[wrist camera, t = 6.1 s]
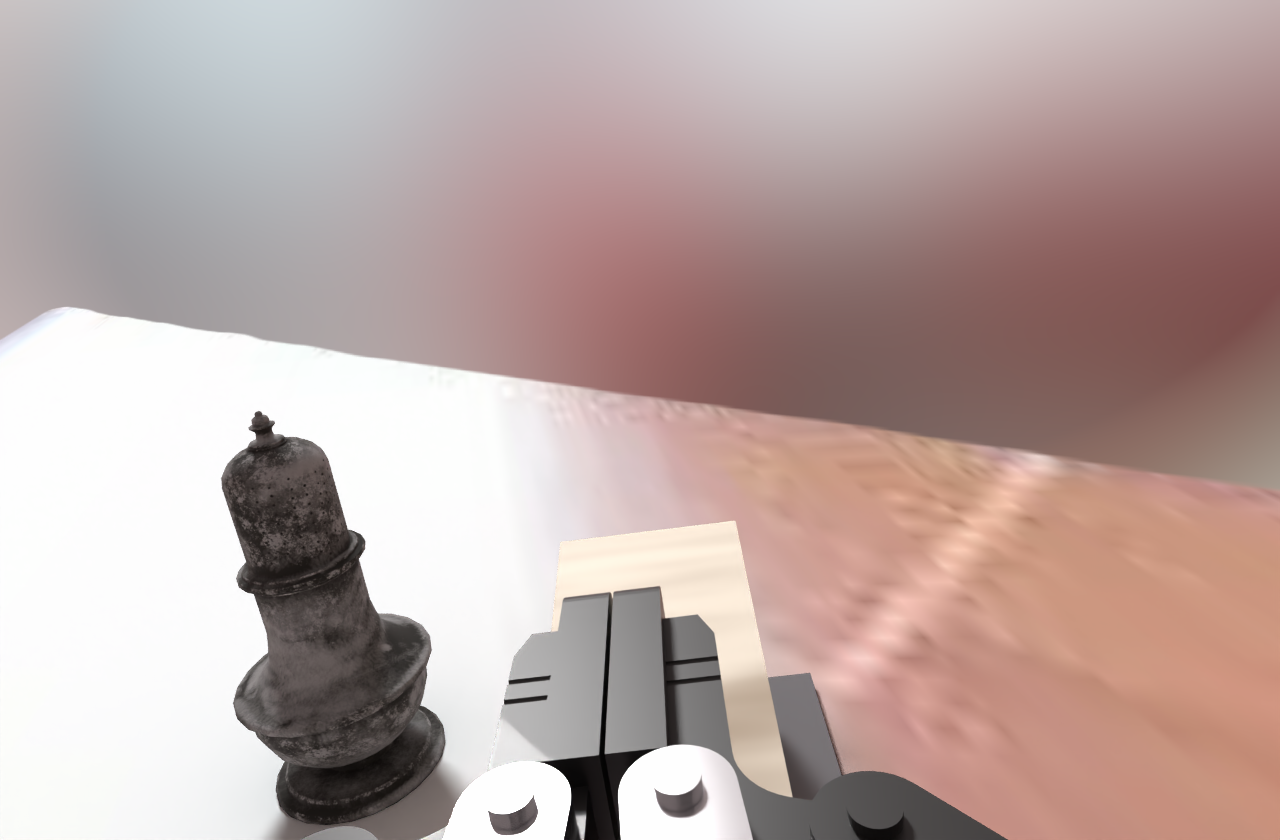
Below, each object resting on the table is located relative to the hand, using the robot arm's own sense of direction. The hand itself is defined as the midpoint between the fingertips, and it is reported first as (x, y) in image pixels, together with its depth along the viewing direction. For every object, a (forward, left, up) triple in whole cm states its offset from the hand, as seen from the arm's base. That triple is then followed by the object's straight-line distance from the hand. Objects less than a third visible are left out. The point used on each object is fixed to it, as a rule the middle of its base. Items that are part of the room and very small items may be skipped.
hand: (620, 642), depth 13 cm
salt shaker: (+14, +3, -11) cm, 18 cm away
